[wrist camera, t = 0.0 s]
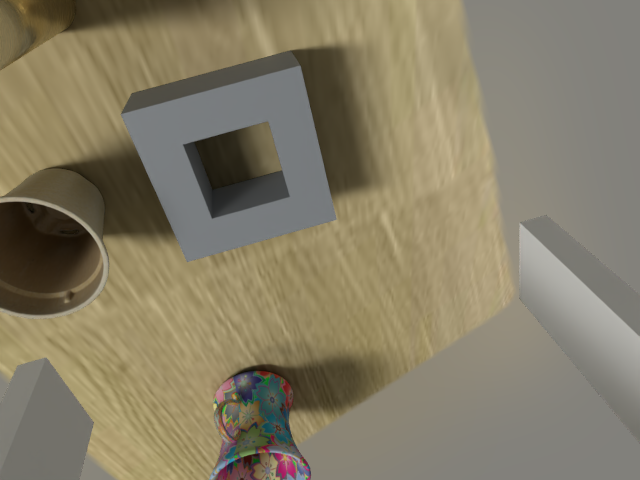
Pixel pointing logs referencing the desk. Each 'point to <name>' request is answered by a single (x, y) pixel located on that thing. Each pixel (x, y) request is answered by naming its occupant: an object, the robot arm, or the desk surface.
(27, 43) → the long pin
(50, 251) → the flower pot
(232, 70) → the slate block
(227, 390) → the mug
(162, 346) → the desk surface
